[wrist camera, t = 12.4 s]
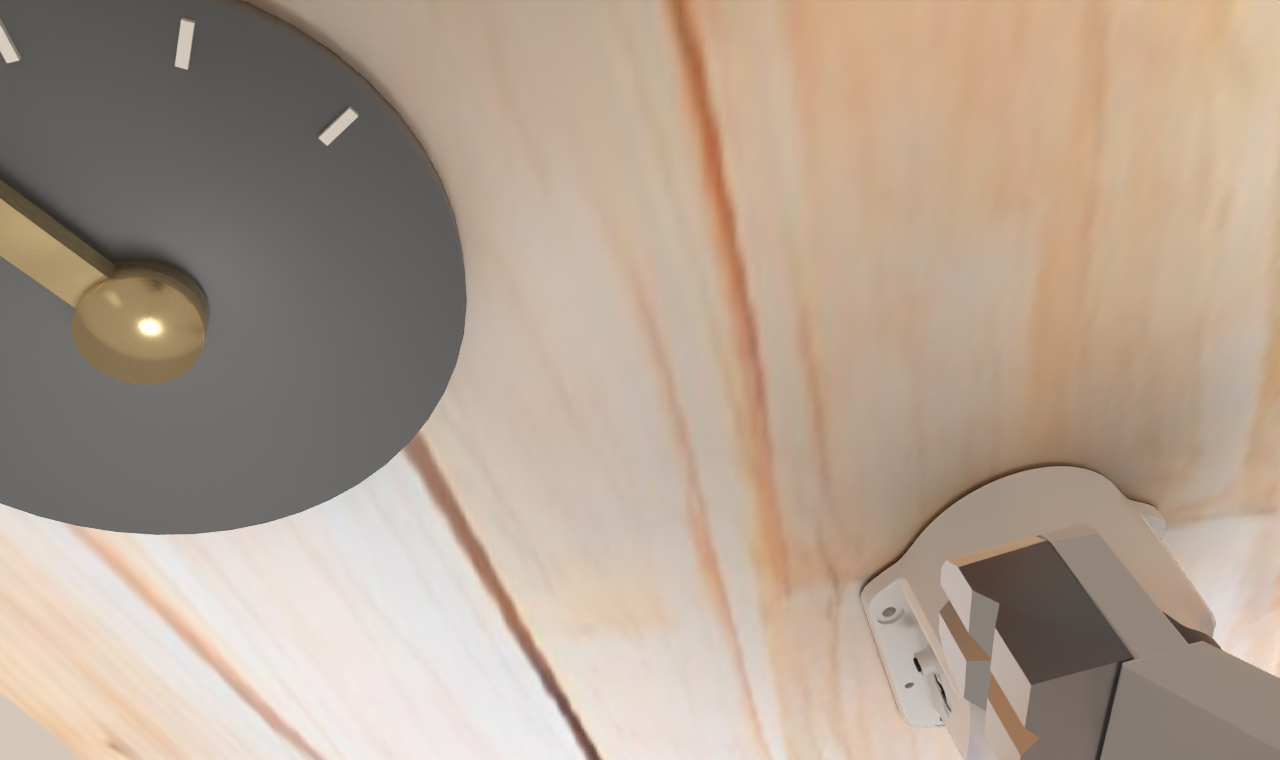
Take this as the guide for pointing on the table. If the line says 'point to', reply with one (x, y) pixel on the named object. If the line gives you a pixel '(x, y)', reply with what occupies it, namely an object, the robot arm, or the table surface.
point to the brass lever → (109, 297)
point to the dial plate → (218, 265)
